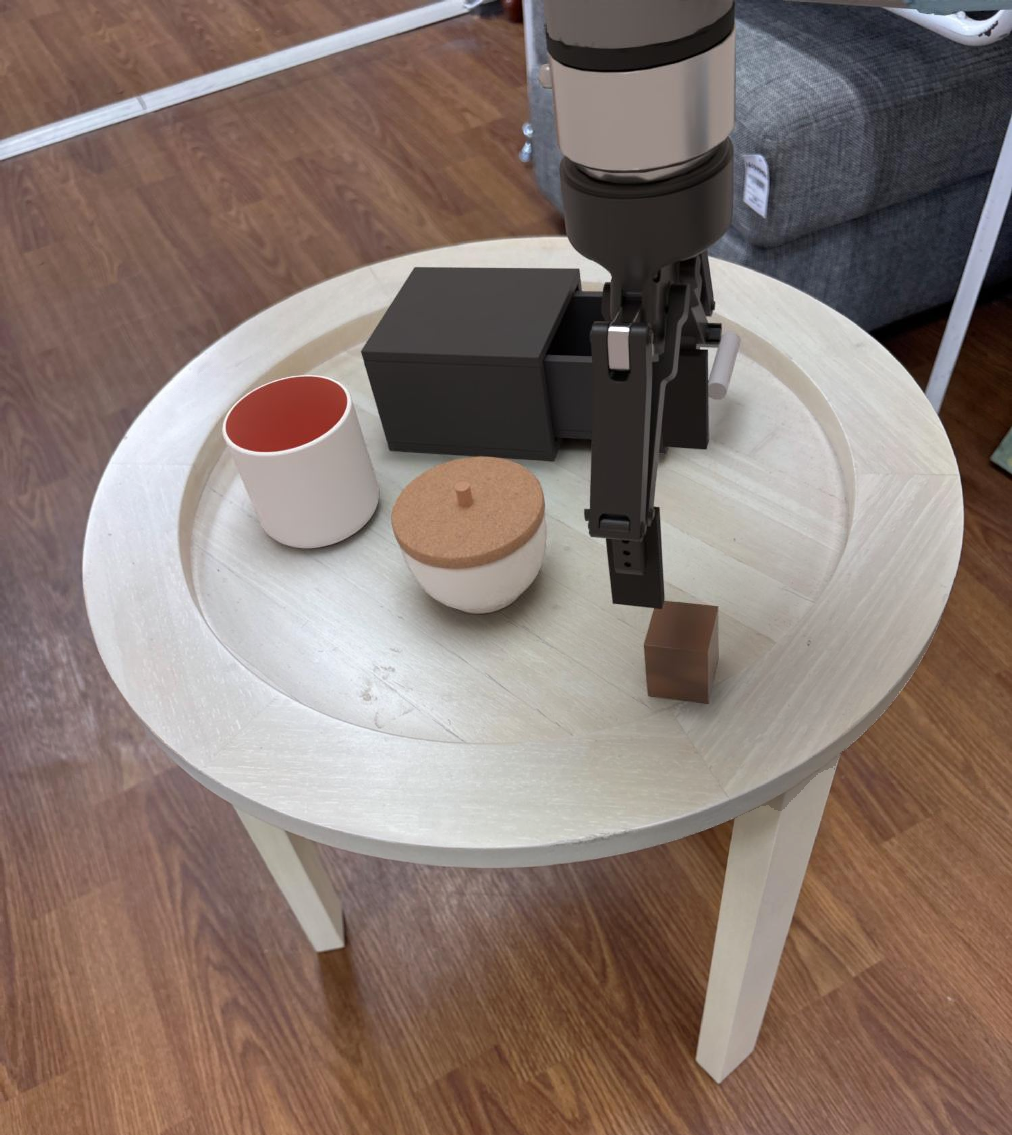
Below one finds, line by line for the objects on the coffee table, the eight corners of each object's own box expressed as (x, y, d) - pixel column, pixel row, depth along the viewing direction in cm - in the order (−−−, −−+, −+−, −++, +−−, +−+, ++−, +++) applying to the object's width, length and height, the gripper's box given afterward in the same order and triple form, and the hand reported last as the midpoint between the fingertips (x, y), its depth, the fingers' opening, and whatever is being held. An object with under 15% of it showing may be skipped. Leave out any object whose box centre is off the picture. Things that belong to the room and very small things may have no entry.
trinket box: (586, 572, 78) (573, 471, 71) (484, 660, 74) (459, 562, 67) (485, 516, 84) (464, 418, 77) (385, 595, 80) (353, 499, 73)
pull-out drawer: (744, 370, 90) (745, 284, 84) (721, 457, 83) (721, 370, 77) (540, 363, 95) (528, 281, 89) (503, 444, 88) (487, 361, 82)
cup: (377, 548, 84) (343, 445, 76) (255, 562, 85) (210, 462, 77) (387, 468, 90) (357, 366, 83) (274, 482, 91) (234, 382, 84)
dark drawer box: (590, 370, 95) (579, 267, 88) (553, 461, 87) (538, 357, 80) (436, 364, 99) (414, 266, 92) (389, 450, 92) (360, 351, 85)
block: (718, 657, 71) (718, 605, 67) (708, 703, 69) (707, 652, 65) (659, 650, 72) (656, 599, 69) (647, 695, 70) (643, 645, 66)
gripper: (623, 33, 54) (645, 387, 70) (473, 299, 39) (544, 671, 55) (774, 24, 52) (761, 392, 68) (675, 304, 37) (688, 690, 53)
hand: (663, 518), depth 62 cm, fingers open, 13 cm apart
